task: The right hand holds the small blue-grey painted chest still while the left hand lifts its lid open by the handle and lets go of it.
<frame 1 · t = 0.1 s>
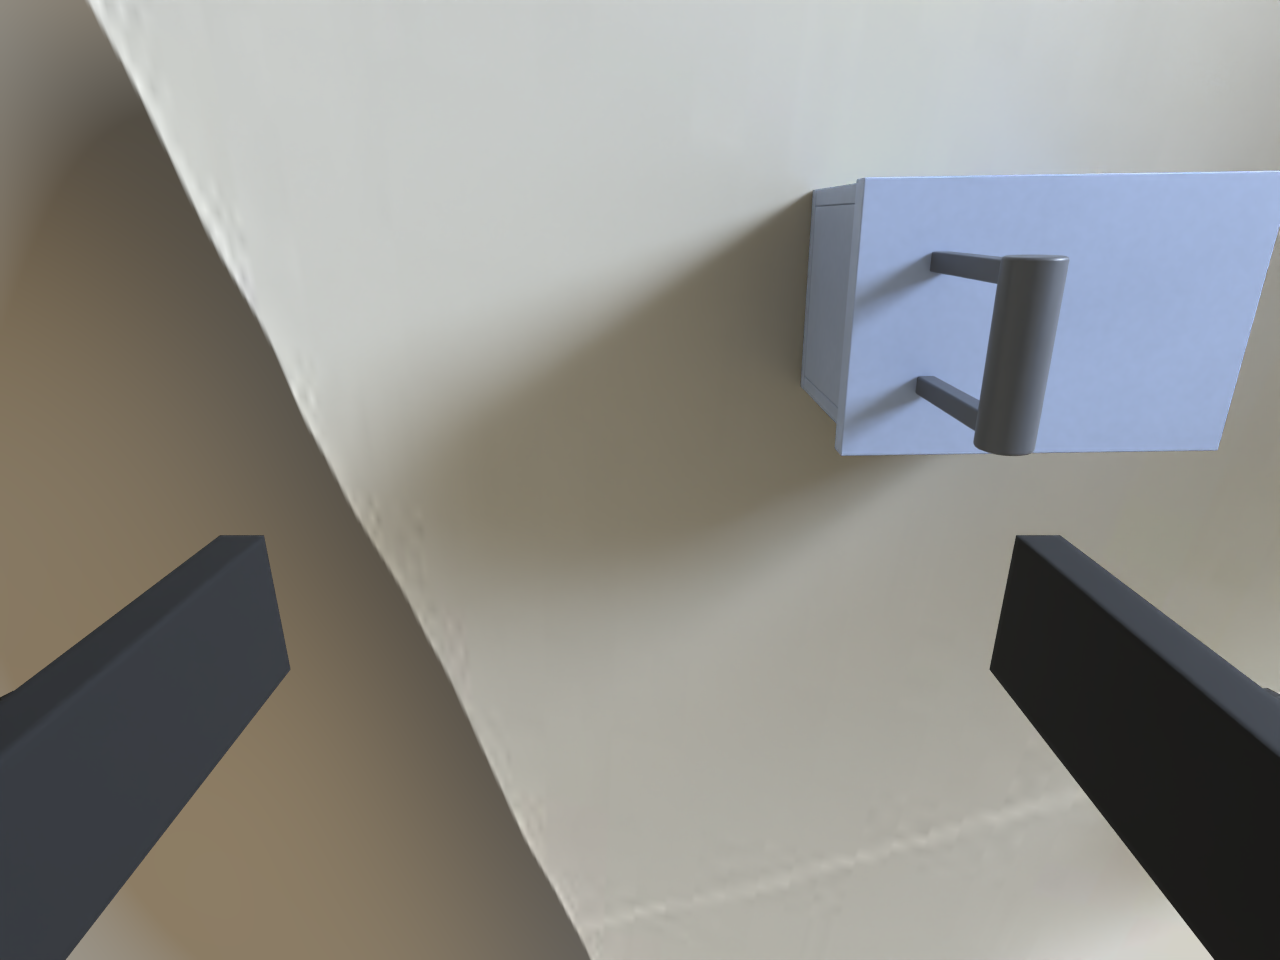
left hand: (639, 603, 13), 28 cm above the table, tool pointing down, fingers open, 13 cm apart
lid: (1104, 336, 24), point 15 cm above the table, hinge at 0.0°
chest: (936, 290, 38), on the table
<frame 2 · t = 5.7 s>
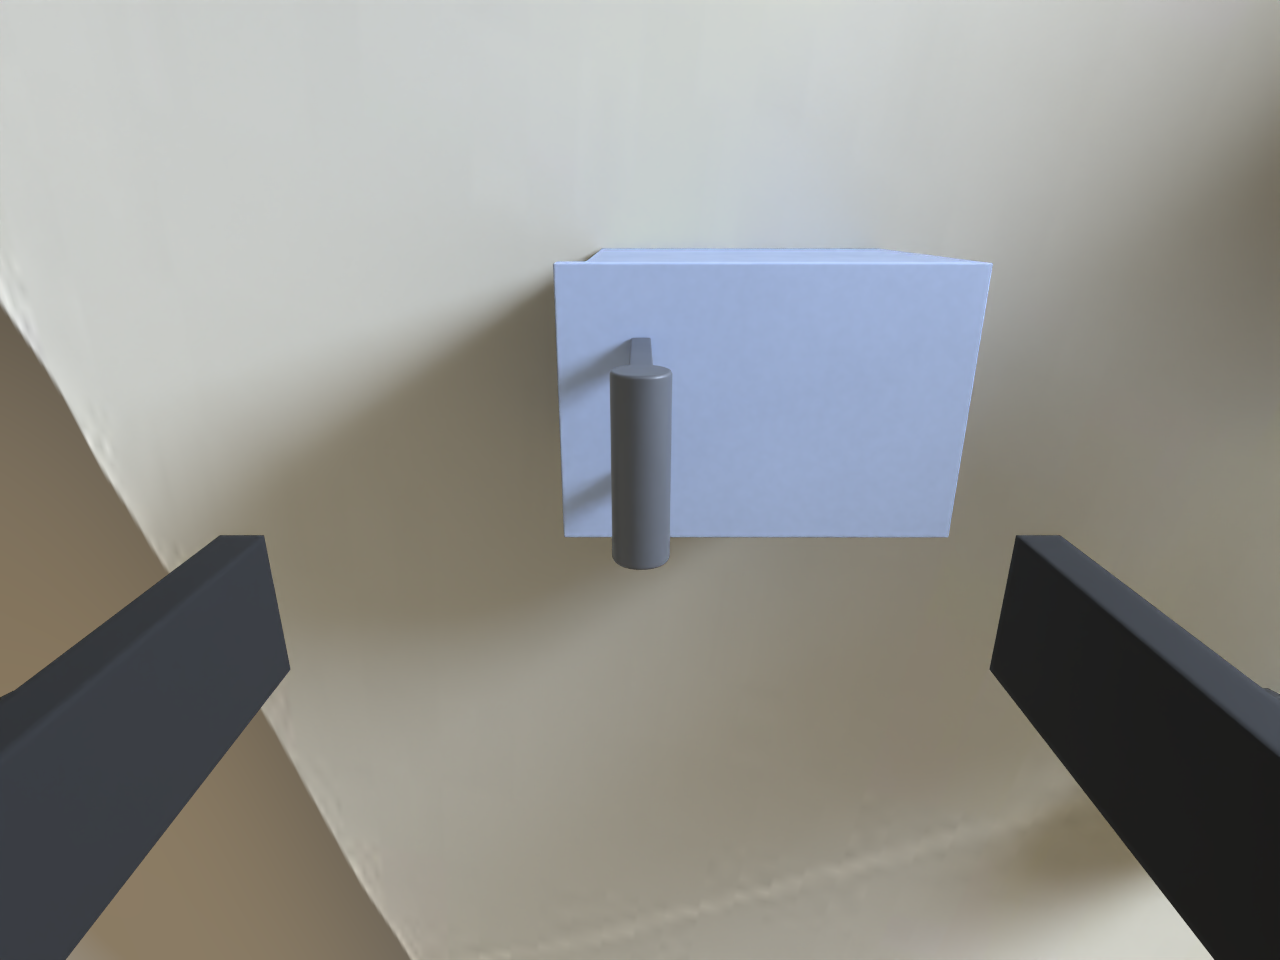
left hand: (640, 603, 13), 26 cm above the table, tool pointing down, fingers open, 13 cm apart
lid: (780, 434, 23), point 15 cm above the table, hinge at 0.0°
chest: (735, 350, 37), on the table
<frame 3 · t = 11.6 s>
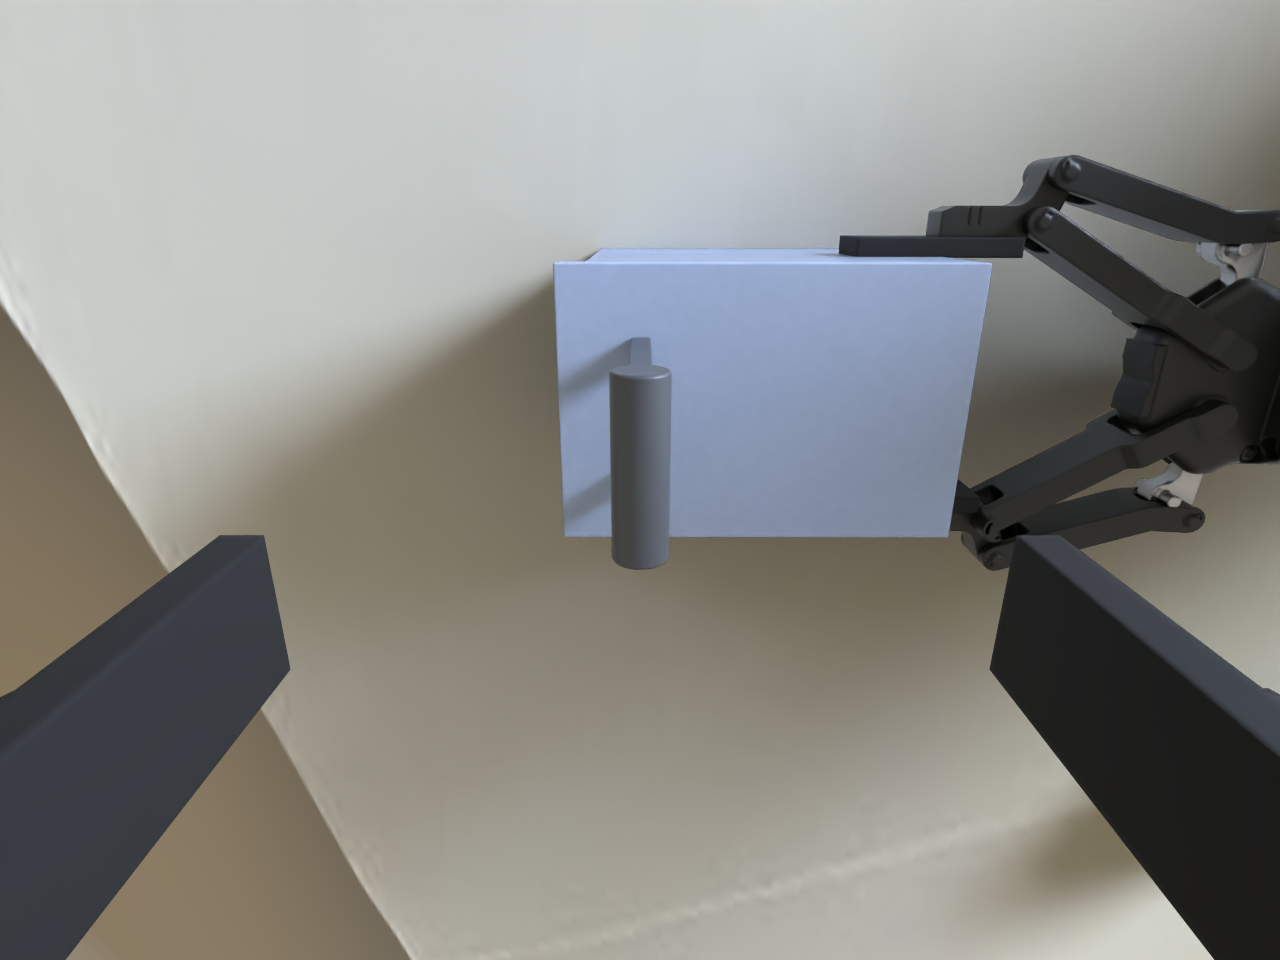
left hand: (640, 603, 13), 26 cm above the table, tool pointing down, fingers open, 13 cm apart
right hand: (835, 377, 31), fingers closed on chest, 10 cm apart
lid: (779, 434, 23), point 15 cm above the table, hinge at 0.0°
chest: (735, 350, 37), on the table, touching right hand
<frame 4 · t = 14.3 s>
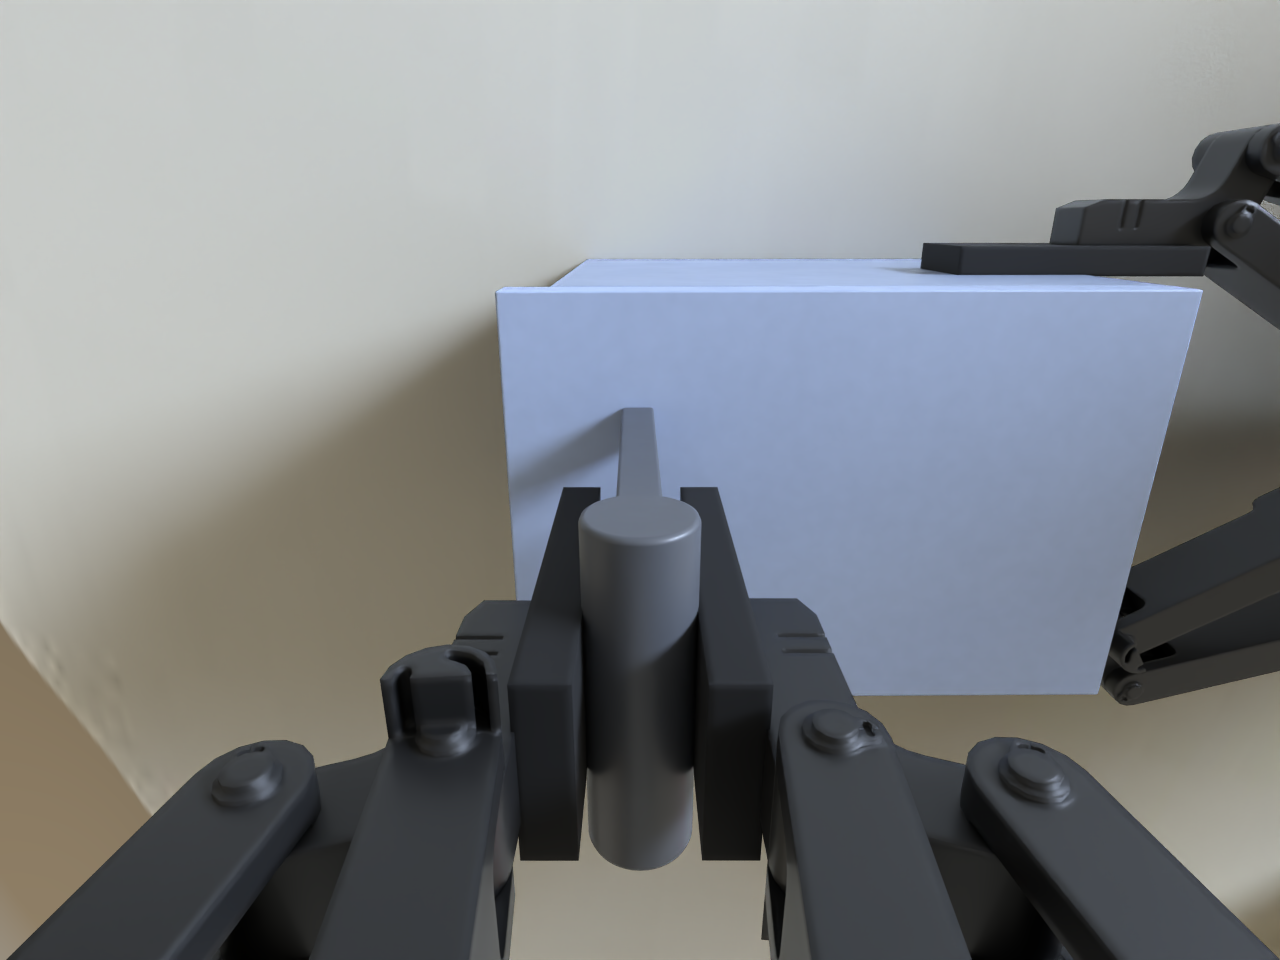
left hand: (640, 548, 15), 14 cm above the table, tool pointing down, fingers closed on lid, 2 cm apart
right hand: (913, 444, 22), fingers closed on chest, 10 cm apart
lid: (871, 578, 14), point 16 cm above the table, hinge at 0.7°, touching left hand
chest: (764, 393, 28), on the table, touching right hand
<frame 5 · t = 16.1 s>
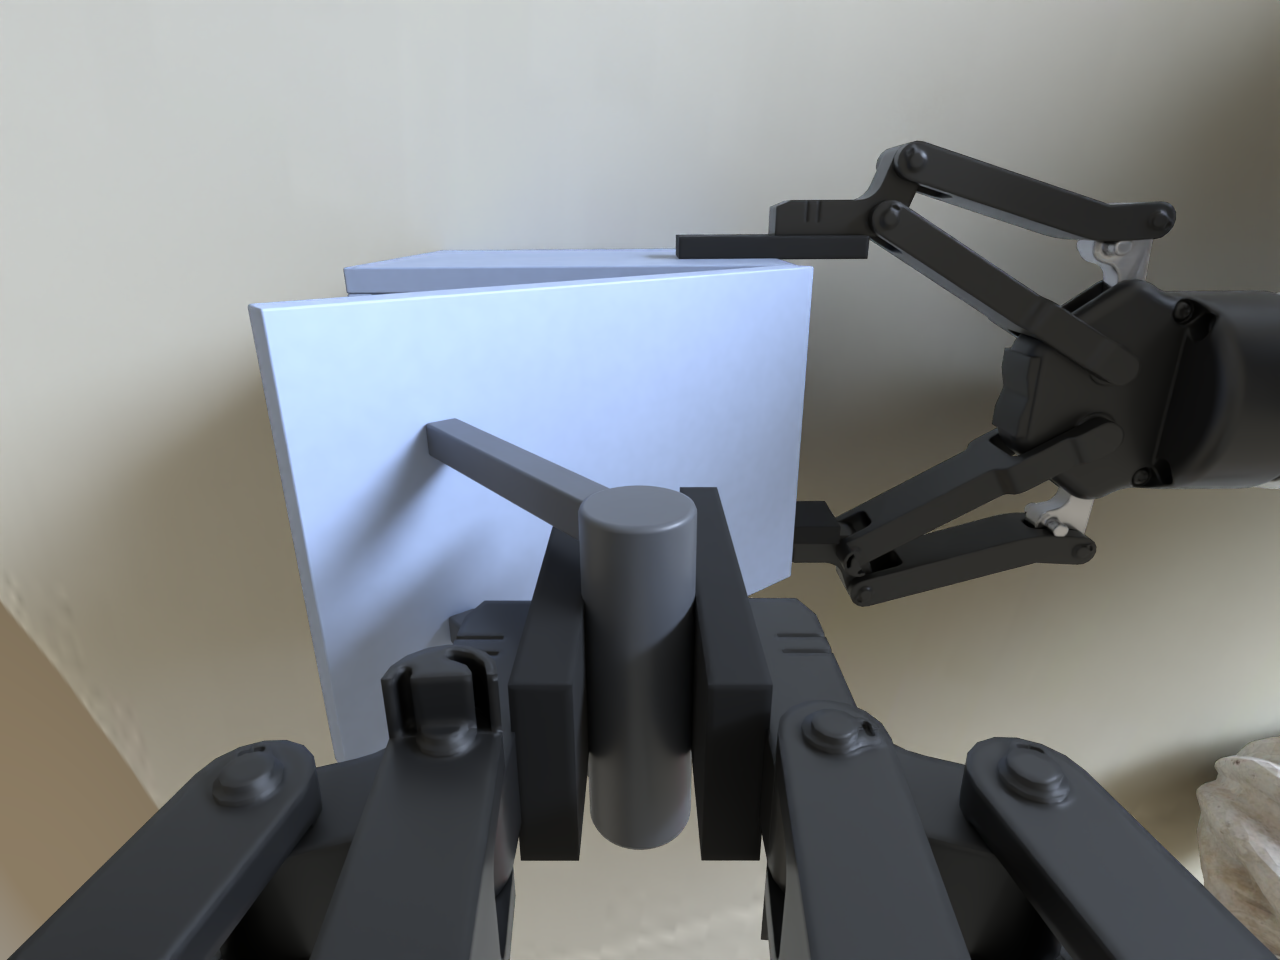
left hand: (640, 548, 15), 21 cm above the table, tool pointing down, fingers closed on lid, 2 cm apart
right hand: (675, 394, 28), fingers closed on chest, 10 cm apart
lid: (700, 526, 16), point 19 cm above the table, hinge at 39.4°, touching left hand
chest: (596, 361, 34), on the table, touching right hand
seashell: (1257, 765, 42), on the table
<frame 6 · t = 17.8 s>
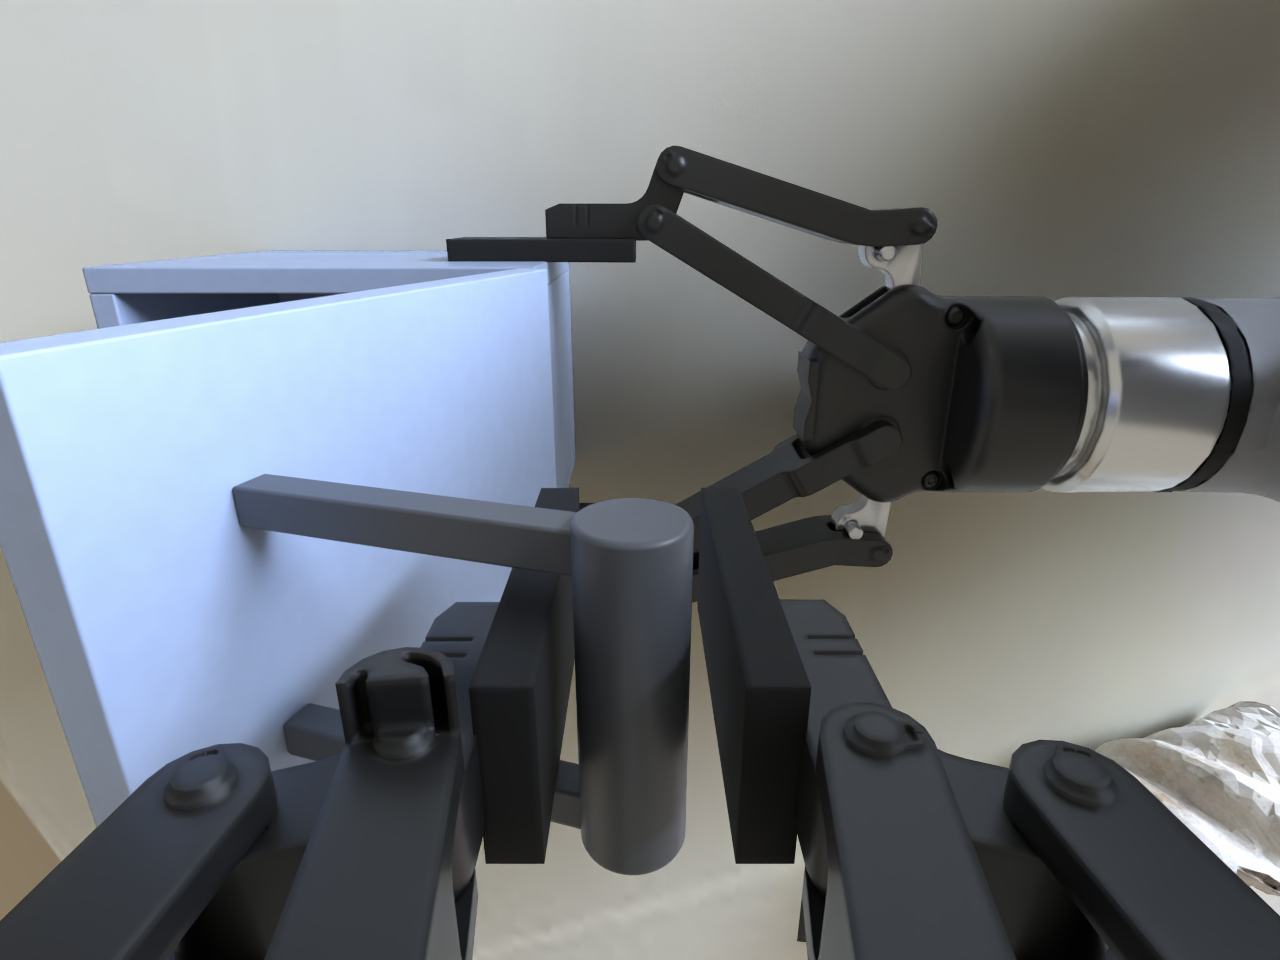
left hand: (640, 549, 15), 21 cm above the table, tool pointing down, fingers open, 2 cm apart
right hand: (468, 395, 28), fingers closed on chest, 10 cm apart
lid: (550, 539, 15), point 20 cm above the table, hinge at 72.6°
chest: (427, 362, 34), on the table, touching right hand
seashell: (1115, 766, 43), on the table
when the right hand's fingers open (7 cm above the table, at t = 21.5 s): chest stays where it is, on the table.
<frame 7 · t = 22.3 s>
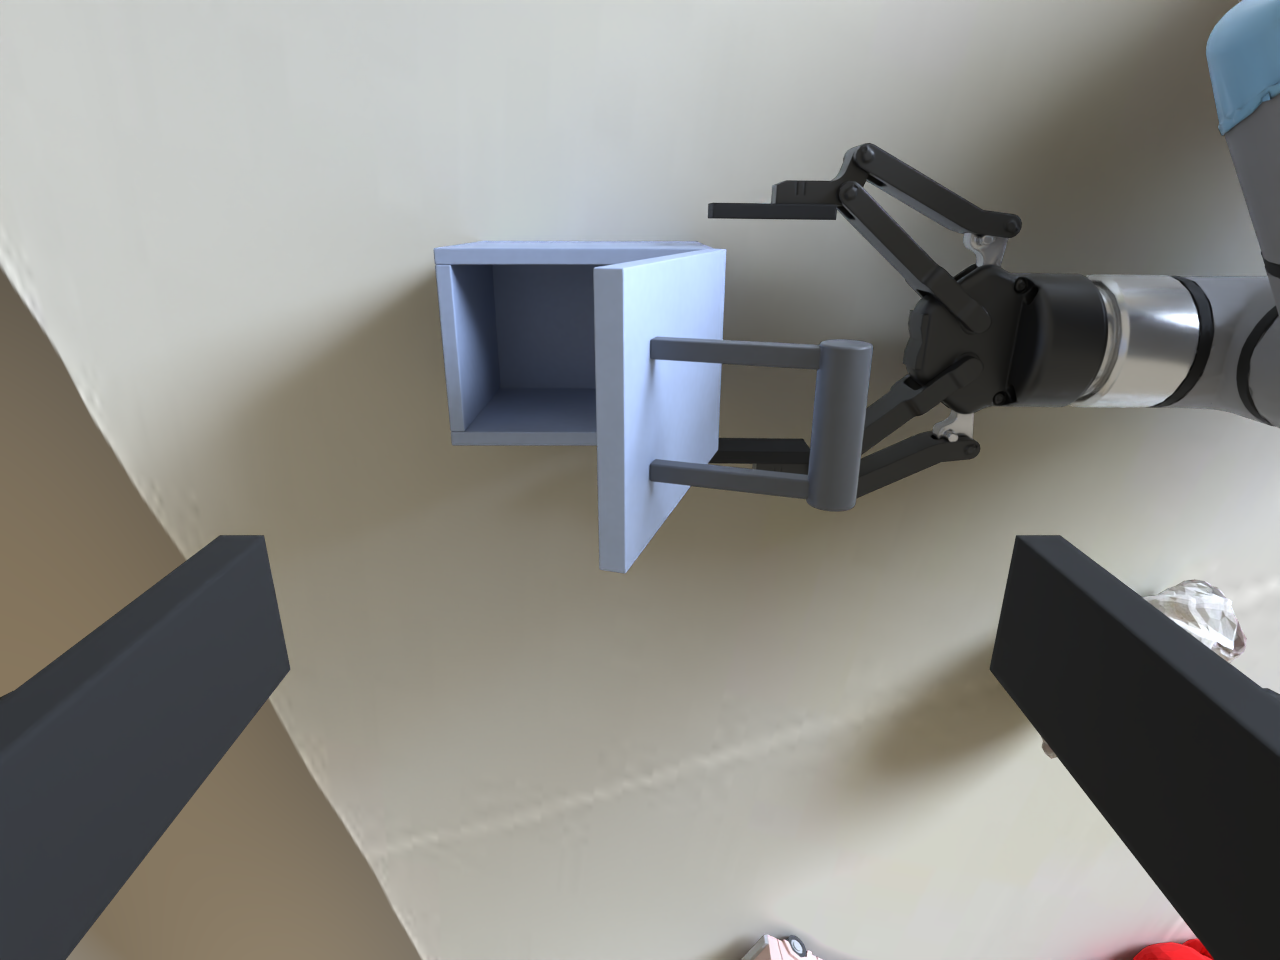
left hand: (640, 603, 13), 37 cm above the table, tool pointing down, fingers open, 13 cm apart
right hand: (704, 337, 41), fingers open, 13 cm apart
lid: (760, 390, 29), point 20 cm above the table, hinge at 71.7°
chest: (591, 321, 47), on the table
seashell: (1091, 636, 56), on the table
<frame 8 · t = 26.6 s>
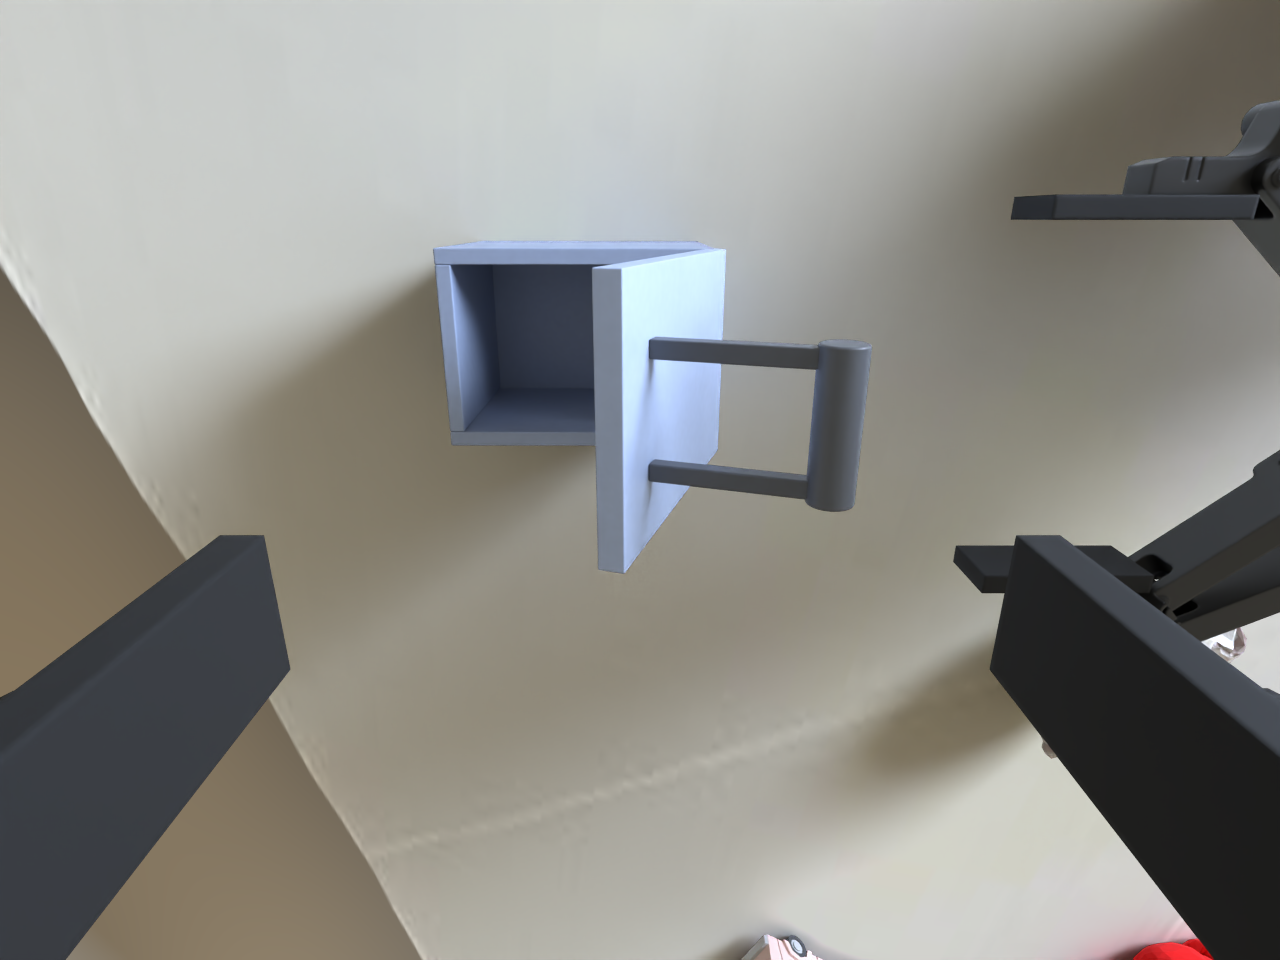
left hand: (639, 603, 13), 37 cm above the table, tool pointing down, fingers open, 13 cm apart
lid: (759, 390, 29), point 20 cm above the table, hinge at 71.7°
chest: (591, 321, 47), on the table
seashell: (1091, 636, 56), on the table
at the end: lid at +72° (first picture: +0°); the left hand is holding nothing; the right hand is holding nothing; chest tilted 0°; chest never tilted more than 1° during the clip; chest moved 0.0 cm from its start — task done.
